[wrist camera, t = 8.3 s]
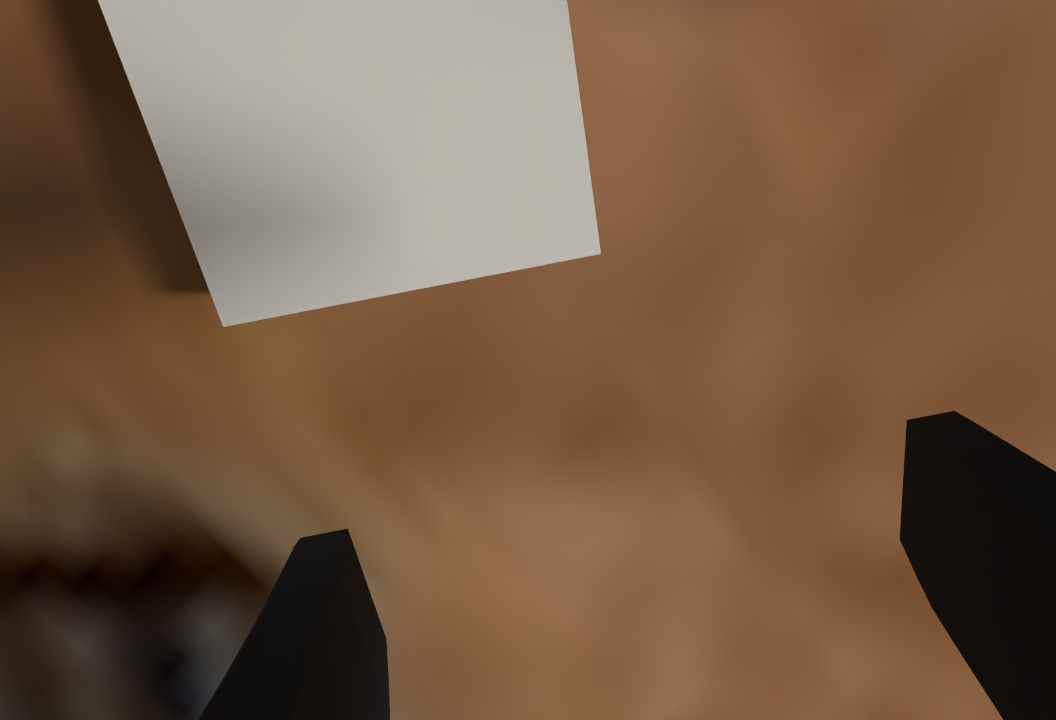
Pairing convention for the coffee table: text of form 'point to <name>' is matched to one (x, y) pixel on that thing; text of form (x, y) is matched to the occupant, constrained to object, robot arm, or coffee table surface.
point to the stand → (361, 142)
